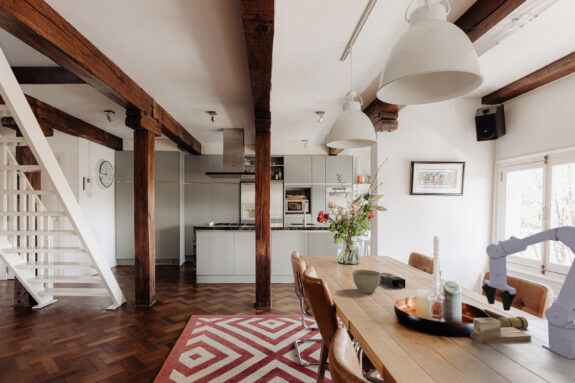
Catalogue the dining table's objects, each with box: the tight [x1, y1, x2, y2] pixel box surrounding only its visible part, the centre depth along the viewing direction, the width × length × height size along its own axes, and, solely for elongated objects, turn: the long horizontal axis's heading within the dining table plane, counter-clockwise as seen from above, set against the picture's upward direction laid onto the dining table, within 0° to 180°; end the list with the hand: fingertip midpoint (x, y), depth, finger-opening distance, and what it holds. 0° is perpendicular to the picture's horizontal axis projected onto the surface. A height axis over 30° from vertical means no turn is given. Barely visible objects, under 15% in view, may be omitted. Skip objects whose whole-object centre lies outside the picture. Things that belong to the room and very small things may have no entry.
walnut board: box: [469, 327, 532, 345], centre depth 116 cm, size 8×20×2 cm, turn 97°
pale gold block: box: [472, 317, 501, 336], centre depth 115 cm, size 4×8×5 cm, turn 97°
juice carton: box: [379, 272, 406, 290], centre depth 193 cm, size 20×10×6 cm, turn 12°
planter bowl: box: [352, 269, 381, 294], centre depth 178 cm, size 16×16×11 cm
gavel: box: [482, 309, 529, 329], centre depth 134 cm, size 21×5×10 cm
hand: (498, 307), depth 123 cm, fingers open, 7 cm apart
